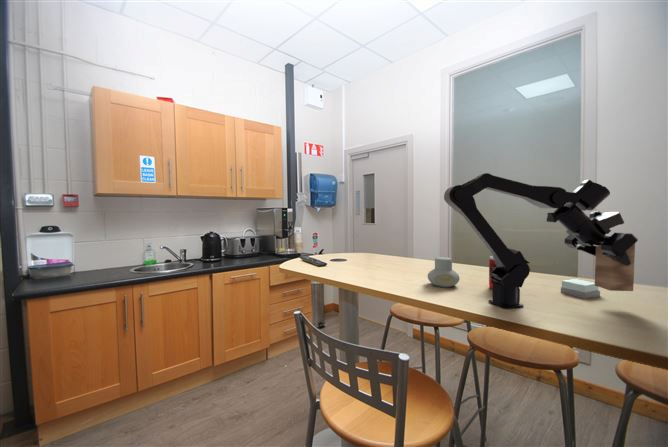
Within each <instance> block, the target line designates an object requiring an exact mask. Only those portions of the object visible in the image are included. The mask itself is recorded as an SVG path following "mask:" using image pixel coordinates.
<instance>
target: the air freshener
mask: <svg viewBox="0 0 668 447" xmlns="http://www.w3.org/2000/svg"><path fill="white" fill-rule="evenodd" d="M427 279H428V281H429V282H430V283H431V284H432V285H434V286H437V287H440V288H451V287H455V285H457V284H458V283H459V282H460V275H459V273H457V271H455V270H454V269H453V259H452V257H446V256H437V257H435V258H434V268H433V269H431V270H430V271H429V272H428V274H427Z"/></svg>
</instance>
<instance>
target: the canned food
mask: <svg viewBox="0 0 668 447" xmlns="http://www.w3.org/2000/svg"><path fill="white" fill-rule="evenodd" d="M488 258H489V260H488V270H489V271H488V286H489V289H490V290H492V291H493V283H495V281H494V280H492V279H491V277H490V272H491V271H493V270H494V269H495V268H496V267H497V266H496V264H495V262H494V258H493V255H490V256H489V257H488Z"/></svg>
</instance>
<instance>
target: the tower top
mask: <svg viewBox="0 0 668 447" xmlns="http://www.w3.org/2000/svg"><path fill="white" fill-rule="evenodd" d="M561 287H562V288H567V289H571V290H576V291H580V292H584V293H586V292H592V291H597V290H599V287H598V286H595V281H594V282H593V281H587V280H583V279H577V278H573V279H572V278H571V279H565V280H561Z"/></svg>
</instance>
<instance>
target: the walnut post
mask: <svg viewBox="0 0 668 447" xmlns="http://www.w3.org/2000/svg"><path fill="white" fill-rule="evenodd" d="M602 253H604V252H603V251H602V250H601V245H600V246H596V256H594V257H595V260H594V261H595V262H594V264H595V265H594V283H595V286H598V288H601V289H605V290H607V291H610V292H611V291H612V292H634V283H635V282H634V279H635V278H634V277H635V257H636V256H635V254H636V243H635V244H633V245H632V246H631V247H630V248H629V249H628V250H626V253H627V255H628V257H629V259H630V262H631V264H630V265H629V266H626V265H624V264H622V263H620V262H617V261H615V260H613V259H611V258H609V257H607V256H604V255H602Z"/></svg>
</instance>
